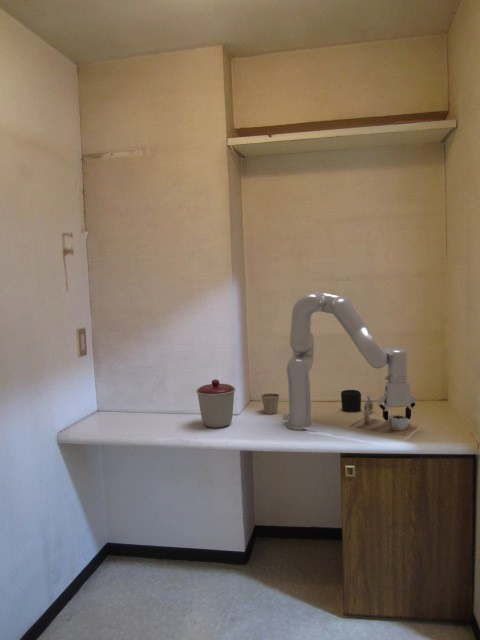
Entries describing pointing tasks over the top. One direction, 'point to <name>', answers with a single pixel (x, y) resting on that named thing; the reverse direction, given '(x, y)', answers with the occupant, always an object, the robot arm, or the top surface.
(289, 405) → the robot arm
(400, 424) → the steel ring
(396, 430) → the brass hub
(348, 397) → the pen holder
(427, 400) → the top surface
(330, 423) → the top surface
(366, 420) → the stand rod
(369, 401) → the pocket watch
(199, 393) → the canister
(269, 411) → the flower pot
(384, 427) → the walnut board
